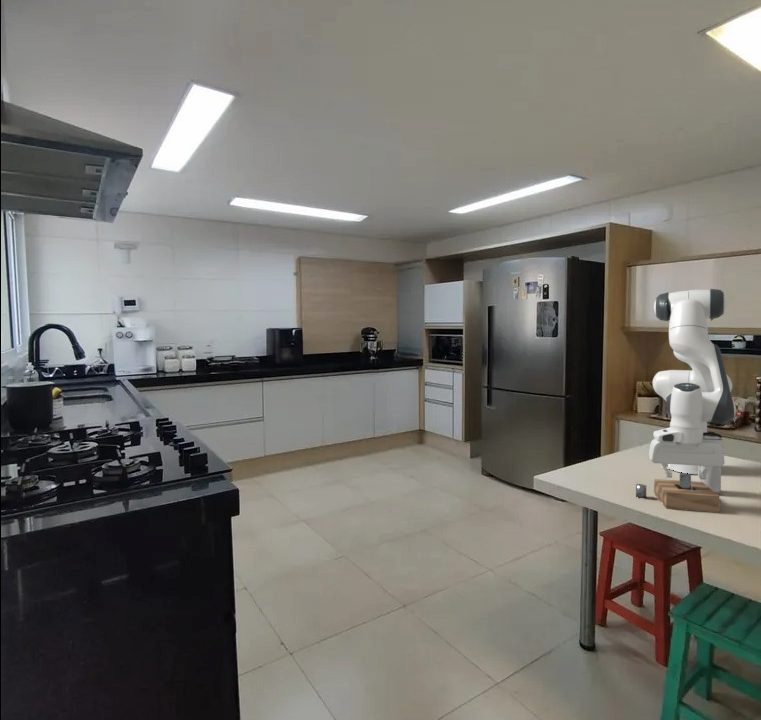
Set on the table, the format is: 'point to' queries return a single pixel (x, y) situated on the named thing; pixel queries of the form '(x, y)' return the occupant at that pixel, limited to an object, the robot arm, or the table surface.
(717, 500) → the hole block
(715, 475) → the travel mug
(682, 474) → the tall pin
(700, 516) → the table surface
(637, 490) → the short pin
